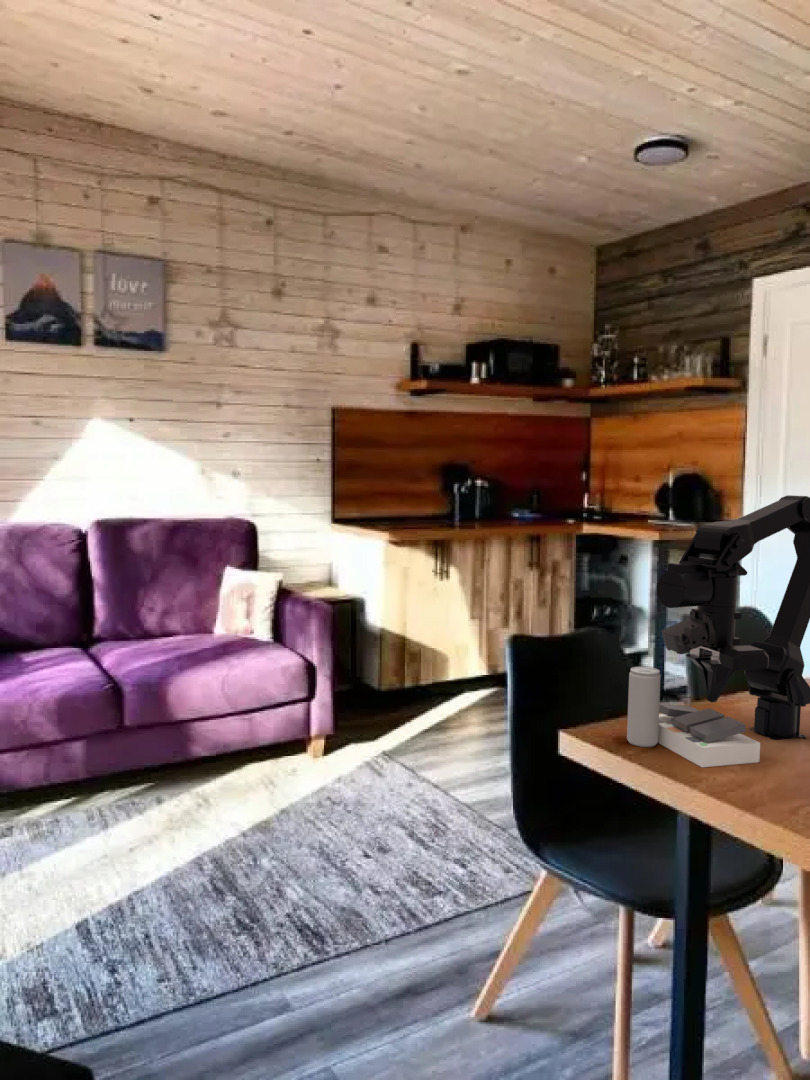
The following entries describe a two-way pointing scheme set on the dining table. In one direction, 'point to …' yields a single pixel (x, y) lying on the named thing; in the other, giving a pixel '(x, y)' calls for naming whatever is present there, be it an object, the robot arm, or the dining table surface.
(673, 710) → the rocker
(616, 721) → the dining table surface
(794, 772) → the dining table surface
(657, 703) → the beverage can
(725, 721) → the block
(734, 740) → the rocker switch panel
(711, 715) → the block
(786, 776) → the dining table surface
